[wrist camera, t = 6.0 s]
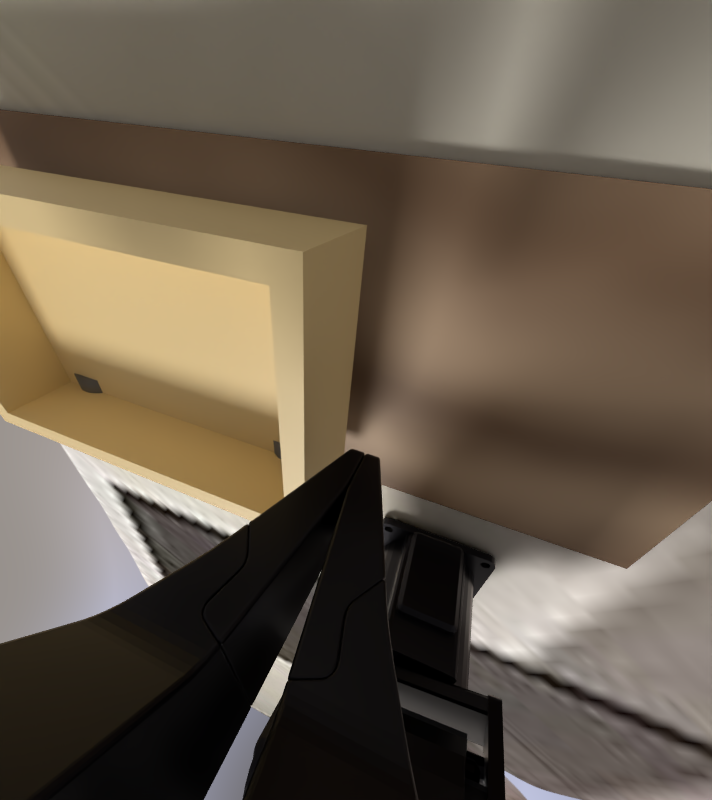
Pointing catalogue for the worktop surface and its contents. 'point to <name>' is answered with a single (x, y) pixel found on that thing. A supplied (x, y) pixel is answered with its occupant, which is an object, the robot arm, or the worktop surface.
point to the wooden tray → (178, 333)
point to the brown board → (482, 319)
